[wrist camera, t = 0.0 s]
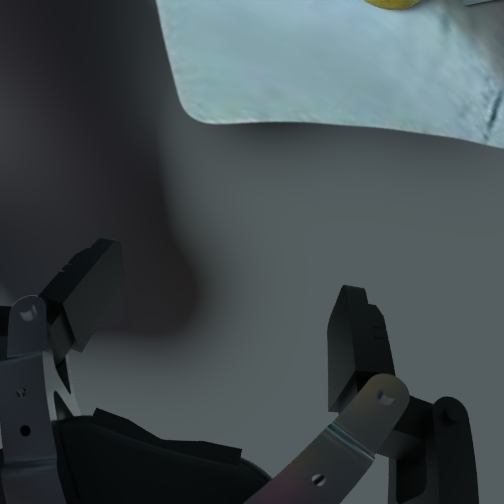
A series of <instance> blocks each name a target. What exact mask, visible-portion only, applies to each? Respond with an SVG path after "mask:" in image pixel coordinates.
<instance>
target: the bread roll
mask: <svg viewBox="0 0 504 504" xmlns="http://www.w3.org/2000/svg"><path fill="white" fill-rule="evenodd" d="M364 1H365V2H367V3H369V4H371V5H373V6H376V7H379V8H383V9H388V10H402V9H406V8H409V7H411V6H413V5H414V4H416V3H418V2H419V1H421V0H364Z"/></svg>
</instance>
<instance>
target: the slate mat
mask: <svg viewBox="0 0 504 504" xmlns="http://www.w3.org/2000/svg"><path fill="white" fill-rule="evenodd" d="M486 1H491V0H462V3H463V5H465V6H466V5H471V4H476V3H480V2H486Z"/></svg>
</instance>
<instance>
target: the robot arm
mask: <svg viewBox="0 0 504 504" xmlns="http://www.w3.org/2000/svg"><path fill="white" fill-rule="evenodd" d="M124 281H125V272H124V265H123V256H122V248H121V244H120V242H119V241H116V240H111V239H106V238H99V239H98V240H97V241H96V242H95V243H94V244H93V245H92V246H91V247H90V248H86V249H84V250H82V251H80V252H79V253H77V254H75V255H74V257H72V258H71V259H70V261H69V262H68V263H67V265H65V266H64V267H63V268H62V269H61V272H59V273H58V274H57V275H56V276H55V277H54V278H53V279H52V280H51V282H50V283H49V284H48V285H47V286H46V287H45V288H44V290H43V291H42V292H41V293H40V294H39V295H38V296H26V297H23V298H21V299H19V300H18V301H17V302H16V303H15V304H14V305H13V306H0V429H1V439H2V449H0V504H340V503H341V502H342V500H343V499H344V498H345V497H346V496H347V495H348V493H349V492H350V491H351V490H352V489H353V488H354V486H355V485H356V484H357V483H358V481H359V480H360V479H361V477H363V475H364V474H365V473H366V471H367V470H368V469H369V467H370V466H371V465H372V463H373V462H374V459H375V457H374V455H375V454H376V453H377V454H380V455H383V456H386V457H389V486H388V504H479V496H478V483H477V471H476V463H475V455H474V448H473V441H472V434H471V428H470V423H469V417H468V413H467V411H466V409H465V407H464V406H463V404H462V403H461V402H460V401H458V400H457V399H455V398H453V397H442V398H440V399H438V400H437V401H436V402H435V403H434V404H431V403H429V402H426V401H423V400H420V399H417V398H415V397H413V396H410V395H409V391H408V389H407V387H406V385H405V384H404V383H403V382H402V381H401V380H400V379H399V378H397V377H396V375H395V370H394V365H393V359H392V354H391V349H390V344H389V340H388V334H387V331H386V325H385V321H384V316H383V315H382V313H381V312H380V311H379V309H378V308H377V306H376V305H371V304H368V300H367V296H366V291H365V289H364V288H359V287H353V286H348V285H343V286H342V288H341V290H340V293H339V296H338V298H337V301H336V303H335V306H334V308H333V311H332V313H331V316H330V319H329V323H328V329H327V341H328V411H329V412H339V416H338V417H337V418H336V419H335V420H334V421H333V422H332V423H331V424H330V425H328V426H327V427H326V428H325V429H324V430H323V431H322V432H321V433H320V434H319V435H318V436H317V438H316V439H314V440H313V441H312V443H310V444H309V445H308V446H307V447H306V448H305V450H303V451H302V452H301V453H300V454H299V455H298V456H297V457H296V458H295V459H294V460H293V461H292V462H291V463H290V464H289V465H287V466H286V467H285V468H284V469H283V470H282V471H281V472H280V473H279V474H277V476H275V477H274V478H273V479H272V478H271V476H269V475H268V474H267V473H266V472H265V471H264V470H262V469H261V468H260V467H258V466H257V465H255V464H254V463H251V462H250V461H248V460H246V459H244V458H241V452H242V449H239V448H234V447H229V446H224V445H219V444H214V443H210V442H205V441H177V440H163V439H160V438H158V437H156V436H155V435H153V434H151V433H149V432H148V431H146V430H145V429H143V428H141V427H140V426H138V425H136V424H135V423H133V422H132V421H130V420H128V419H126V418H123V417H120V416H117V415H114V414H112V413H109V412H107V411H104V410H101V409H98V408H96V410H95V412H94V414H93V416H89V415H88V416H86V415H81V413H80V410H79V408H78V405H77V402H76V399H75V394H74V388H73V383H72V377H71V372H70V365H69V359H68V356H67V353H68V351H69V350H70V349H73V350H76V351H78V352H82V351H83V349H84V347H85V346H86V344H87V343H88V341H89V339H90V338H91V336H92V335H93V333H94V331H95V330H96V328H97V327H98V325H99V324H100V322H101V320H102V319H103V317H104V316H105V314H106V313H107V311H108V310H109V308H110V306H111V305H112V304H113V302H114V301H115V299H116V298H117V296H118V295H119V293H120V292H121V290H122V288H123V285H124Z"/></svg>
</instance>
